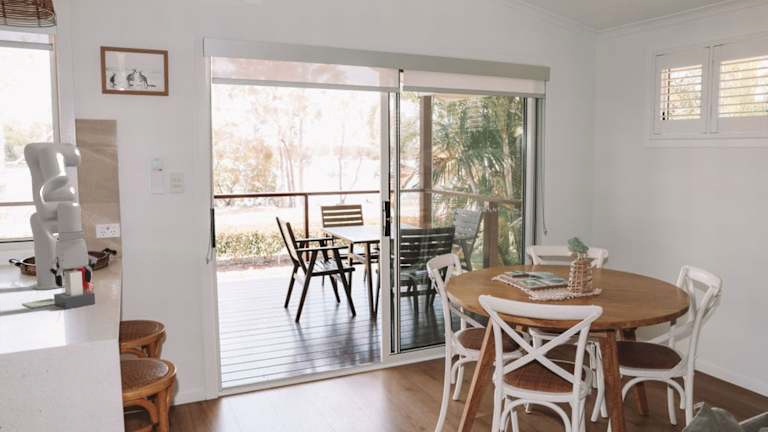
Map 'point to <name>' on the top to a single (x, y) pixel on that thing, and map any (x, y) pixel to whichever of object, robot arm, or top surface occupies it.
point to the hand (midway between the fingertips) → (73, 284)
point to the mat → (40, 303)
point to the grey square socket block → (74, 300)
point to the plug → (73, 283)
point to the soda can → (86, 285)
